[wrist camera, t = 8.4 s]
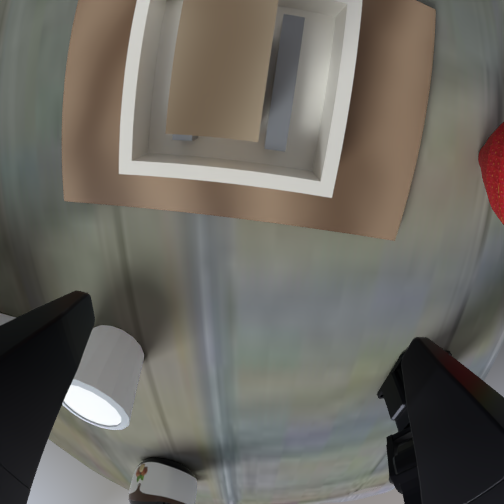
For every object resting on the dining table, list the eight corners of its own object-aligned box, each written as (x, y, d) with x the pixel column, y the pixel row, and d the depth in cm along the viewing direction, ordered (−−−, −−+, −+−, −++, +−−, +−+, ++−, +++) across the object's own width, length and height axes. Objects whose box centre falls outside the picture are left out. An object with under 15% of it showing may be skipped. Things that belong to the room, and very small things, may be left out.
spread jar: (172, 453, 34) (159, 522, 24) (220, 478, 39) (216, 538, 28) (123, 458, 38) (108, 515, 27) (170, 483, 42) (162, 534, 31)
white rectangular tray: (346, 13, 12) (362, -4, 9) (319, 182, 17) (331, 197, 14) (159, -5, 11) (142, -22, 9) (140, 162, 16) (118, 174, 13)
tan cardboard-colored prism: (270, 37, 12) (282, -24, 5) (258, 126, 15) (258, 142, 8) (222, 32, 12) (189, -29, 5) (210, 121, 15) (165, 133, 7)
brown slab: (428, 12, 12) (435, 9, 11) (389, 234, 19) (394, 240, 18) (92, -21, 11) (85, -26, 10) (71, 196, 18) (64, 201, 17)
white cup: (77, 312, 23) (39, 367, 17) (147, 328, 23) (120, 394, 17) (91, 363, 26) (65, 416, 20) (153, 379, 26) (135, 438, 20)
